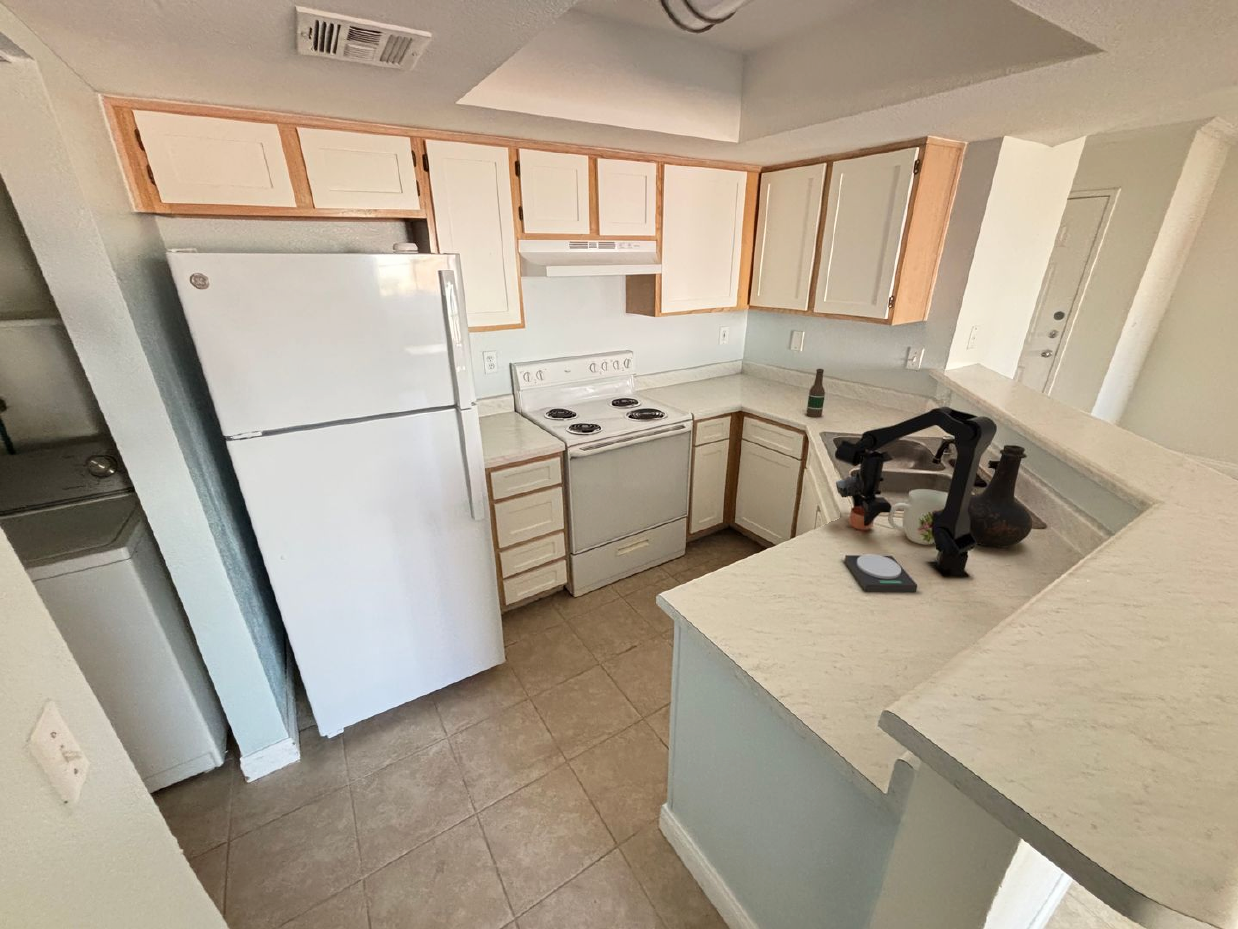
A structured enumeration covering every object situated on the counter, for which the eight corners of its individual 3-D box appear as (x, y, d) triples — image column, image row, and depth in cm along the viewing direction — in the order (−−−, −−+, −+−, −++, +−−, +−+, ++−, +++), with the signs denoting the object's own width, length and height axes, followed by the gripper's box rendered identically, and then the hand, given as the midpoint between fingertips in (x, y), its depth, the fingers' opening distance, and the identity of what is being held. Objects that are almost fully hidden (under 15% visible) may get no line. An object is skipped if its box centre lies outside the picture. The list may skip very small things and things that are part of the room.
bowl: (876, 530, 146) (878, 516, 144) (853, 530, 146) (856, 516, 144) (866, 519, 151) (869, 506, 150) (845, 519, 152) (847, 506, 150)
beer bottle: (819, 418, 253) (826, 371, 244) (803, 416, 258) (809, 369, 249) (823, 415, 259) (830, 368, 250) (808, 412, 264) (814, 367, 255)
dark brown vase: (933, 531, 146) (956, 441, 136) (973, 519, 153) (998, 432, 143) (997, 562, 131) (1029, 463, 121) (1038, 547, 138) (1072, 451, 128)
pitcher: (876, 528, 149) (884, 486, 143) (939, 529, 147) (950, 487, 142) (892, 547, 138) (902, 503, 133) (960, 549, 137) (972, 504, 132)
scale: (915, 592, 120) (918, 582, 119) (864, 591, 120) (866, 581, 119) (890, 562, 132) (892, 553, 131) (844, 561, 132) (845, 552, 131)
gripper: (830, 459, 151) (822, 505, 157) (854, 484, 134) (845, 535, 140) (867, 459, 151) (859, 506, 157) (897, 484, 134) (886, 536, 139)
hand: (861, 520), depth 148 cm, fingers closed on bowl, 6 cm apart
